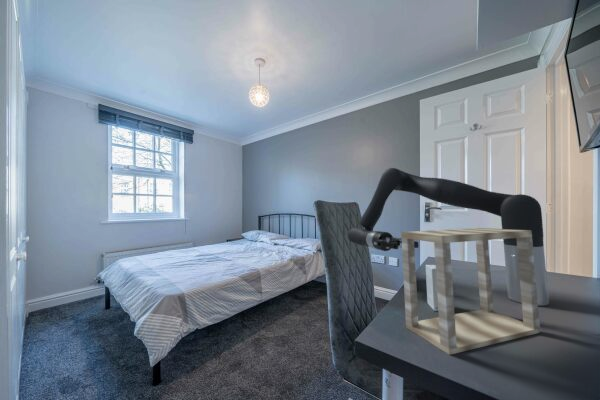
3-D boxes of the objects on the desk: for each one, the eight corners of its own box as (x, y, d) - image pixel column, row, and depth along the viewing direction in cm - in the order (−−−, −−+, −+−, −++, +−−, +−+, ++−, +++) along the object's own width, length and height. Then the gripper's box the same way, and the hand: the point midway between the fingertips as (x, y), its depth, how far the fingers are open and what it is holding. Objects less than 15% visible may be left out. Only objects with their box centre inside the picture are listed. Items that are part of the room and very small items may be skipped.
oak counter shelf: (486, 312, 65) (479, 228, 67) (540, 332, 54) (531, 230, 55) (406, 327, 58) (401, 232, 59) (449, 354, 46) (441, 235, 48)
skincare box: (450, 312, 66) (447, 269, 67) (433, 311, 67) (431, 268, 68) (441, 304, 72) (439, 264, 73) (426, 303, 73) (424, 264, 74)
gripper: (364, 231, 95) (389, 235, 79) (393, 230, 99) (423, 233, 83) (364, 250, 95) (390, 257, 79) (394, 248, 99) (424, 255, 83)
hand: (407, 245), depth 81 cm, fingers open, 8 cm apart
